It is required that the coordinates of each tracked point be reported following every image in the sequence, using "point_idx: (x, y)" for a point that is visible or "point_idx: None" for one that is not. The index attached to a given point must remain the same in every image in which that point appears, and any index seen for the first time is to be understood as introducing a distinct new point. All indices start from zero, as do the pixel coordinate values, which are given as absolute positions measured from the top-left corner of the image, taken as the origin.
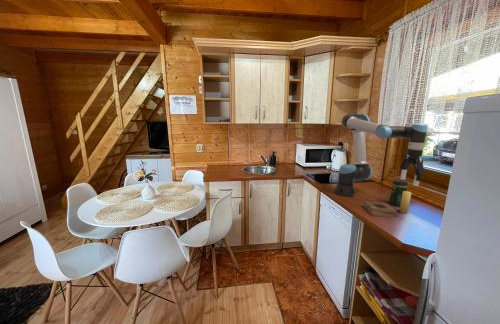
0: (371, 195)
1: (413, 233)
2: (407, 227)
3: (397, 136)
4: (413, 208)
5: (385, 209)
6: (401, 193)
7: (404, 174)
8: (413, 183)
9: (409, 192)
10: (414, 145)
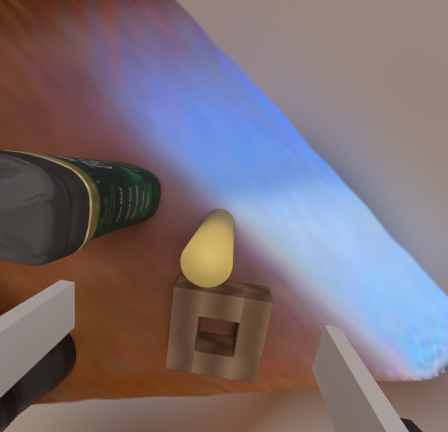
0: None
1: (386, 312)
2: (346, 301)
3: None
4: (173, 140)
5: (253, 337)
6: (120, 206)
7: (4, 355)
8: (326, 393)
9: (213, 252)
10: None
